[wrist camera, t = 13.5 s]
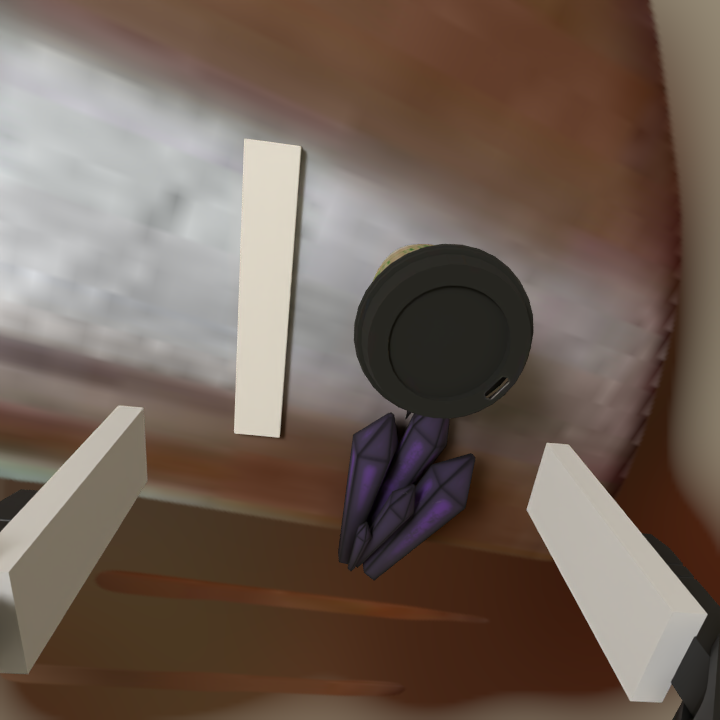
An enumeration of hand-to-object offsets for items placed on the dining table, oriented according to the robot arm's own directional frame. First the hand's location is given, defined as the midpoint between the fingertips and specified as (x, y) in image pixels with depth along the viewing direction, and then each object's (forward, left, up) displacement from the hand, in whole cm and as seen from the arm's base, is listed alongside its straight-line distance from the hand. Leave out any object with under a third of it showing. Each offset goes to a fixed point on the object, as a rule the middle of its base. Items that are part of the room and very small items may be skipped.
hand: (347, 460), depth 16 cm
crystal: (+7, -17, -25) cm, 31 cm away
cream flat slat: (-6, -2, -25) cm, 26 cm away
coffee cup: (+5, +1, -25) cm, 26 cm away
